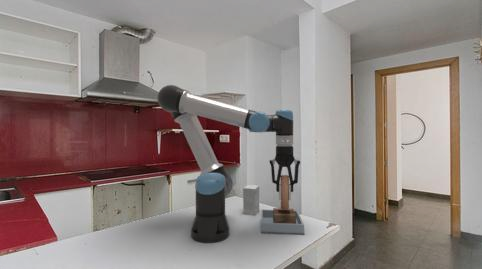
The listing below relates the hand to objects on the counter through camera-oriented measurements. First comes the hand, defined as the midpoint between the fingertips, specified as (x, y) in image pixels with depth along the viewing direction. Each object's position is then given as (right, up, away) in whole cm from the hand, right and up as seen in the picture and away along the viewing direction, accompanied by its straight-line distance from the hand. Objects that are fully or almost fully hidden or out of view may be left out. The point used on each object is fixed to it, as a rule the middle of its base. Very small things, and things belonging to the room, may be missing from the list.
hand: (284, 199), depth 104 cm
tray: (-2, -11, 0) cm, 12 cm away
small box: (-14, -11, +17) cm, 25 cm away
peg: (0, -4, 0) cm, 4 cm away
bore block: (0, -11, 0) cm, 11 cm away
